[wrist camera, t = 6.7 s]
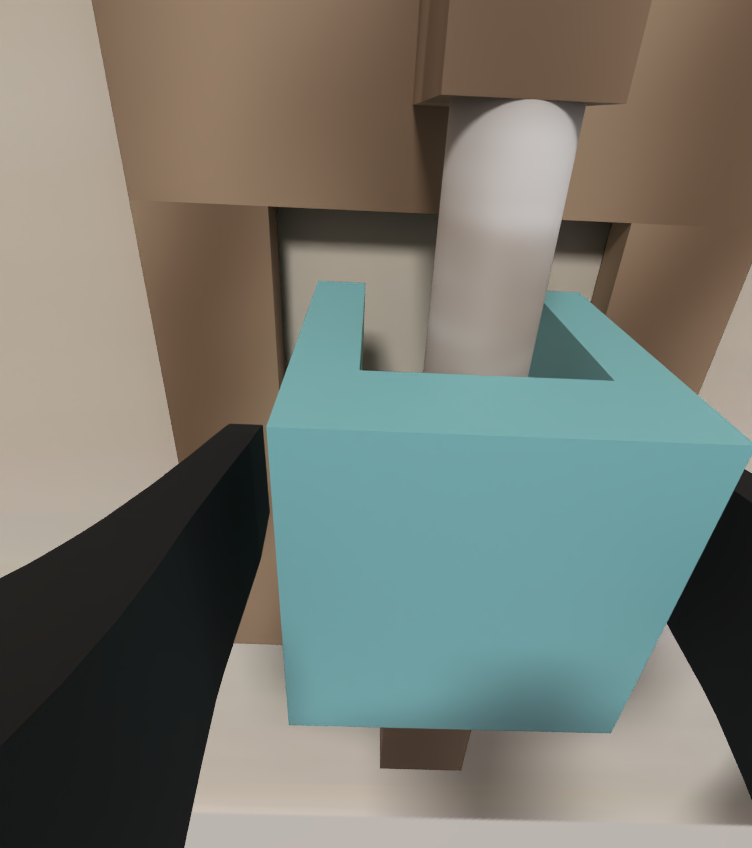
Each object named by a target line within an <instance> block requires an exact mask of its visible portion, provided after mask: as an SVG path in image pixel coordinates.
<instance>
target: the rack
mask: <svg viewBox="0 0 752 848" xmlns="http://www.w3.org/2000/svg"><path fill="white" fill-rule="evenodd" d="M92 5H93V10H94V15H95V21H96V26H97V31H98V37H99V42H100V47H101V53H102V58H103V63H104V69H105V74H106V79H107V85H108V90H109V95H110V100H111V106H112V111H113V116H114V122H115V127H116V132H117V138H118V143H119V148H120V154H121V159H122V164H123V169H124V175H125V180H126V185H127V191H128V196H129V201H130V207H131V212H132V217H133V223H134V228H135V233H136V239H137V244H138V249H139V254H140V260H141V265H142V270H143V276H144V281H145V286H146V292H147V297H148V302H149V308H150V313H151V318H152V323H153V329H154V334H155V339H156V345H157V350H158V355H159V361H160V366H161V371H162V377H163V382H164V387H165V392H166V398H167V403H168V408H169V414H170V419H171V424H172V430H173V435H174V440H175V446H176V451H177V456H178V462H179V463H180V462H182V461H183V460H184V459H185V458H187V457H188V456H189V455H191V454H192V453H193V452H194V451H195V450H197V449H198V448H199V447H200V446H202V445H203V444H204V443H205V442H206V441H208V440H209V439H210V438H211V437H213V436H214V435H215V434H216V433H218V432H219V431H220V430H221V429H223V428H224V427H225V426H227V425H228V424H254V425H263V433H264V445H265V457H266V469H267V482H268V494H269V506H270V514H269V520H268V525H267V531H266V536H265V541H264V546H263V551H262V556H261V561H260V564H259V567H258V570H257V573H256V576H255V579H254V583H253V586H252V589H251V592H250V595H249V598H248V601H247V604H246V607H245V610H244V613H243V616H242V619H241V622H240V625H239V628H238V631H237V634H236V637H235V640H234V643H243V644H275V645H283V641H282V628H281V614H280V601H279V588H278V575H277V562H276V548H275V535H274V522H273V509H272V496H271V482H270V469H269V456H268V443H267V430H266V426H267V423H268V421H269V418H270V415H271V412H272V409H273V407H274V404H275V401H276V398H277V395H278V393H279V390H280V387H281V384H282V381H283V379H284V376H285V363H284V344H283V325H282V306H281V287H280V268H279V250H278V231H277V212H276V207H294V208H316V209H337V210H359V211H380V212H402V213H423V214H439V219H438V229H437V239H436V249H435V259H434V269H433V279H432V290H431V300H430V310H429V320H428V330H427V340H426V350H425V361H424V371H423V373H436V374H461V375H479V376H510V377H528V374H529V370H530V365H531V360H532V356H533V351H534V346H535V342H536V337H537V332H538V328H539V323H540V318H541V314H542V309H543V304H544V300H545V295H546V290H547V286H548V281H549V276H550V272H551V267H552V262H553V258H554V253H555V248H556V244H557V239H558V234H559V230H560V225H561V220H575V221H596V222H612V225H611V229H610V232H609V236H608V240H607V244H606V248H605V252H604V255H603V259H602V263H601V267H600V271H599V274H598V278H597V282H596V286H595V290H594V293H593V297H592V301H591V303H592V304H593V305H594V306H595V307H596V308H597V309H599V310H600V311H601V312H602V313H603V314H604V315H606V316H607V317H608V318H609V319H610V320H611V321H613V322H614V323H615V324H616V325H617V326H618V327H619V328H621V329H622V330H623V331H624V332H625V333H626V334H628V335H629V336H630V337H631V338H632V339H633V340H635V341H636V342H637V343H638V344H639V345H640V346H641V347H643V348H644V349H645V350H646V351H647V352H648V353H650V354H651V355H652V356H653V357H654V358H655V359H657V360H658V361H659V362H660V363H661V364H662V365H663V366H665V367H666V368H667V369H668V370H669V371H670V372H672V373H673V374H674V375H675V376H676V377H677V378H679V379H680V380H681V381H682V382H683V383H684V384H685V385H687V386H688V387H689V388H690V389H691V390H692V391H694V392H695V393H696V394H697V395H698V394H699V391H700V389H701V386H702V384H703V382H704V379H705V377H706V374H707V372H708V369H709V367H710V364H711V362H712V360H713V357H714V355H715V352H716V350H717V347H718V345H719V343H720V340H721V338H722V335H723V333H724V330H725V328H726V325H727V323H728V321H729V318H730V316H731V313H732V311H733V308H734V306H735V303H736V301H737V299H738V296H739V294H740V291H741V289H742V286H743V284H744V282H745V279H746V277H747V274H748V272H749V269H750V267H751V264H752V0H92ZM470 732H471V730H463V729H424V728H385V727H380V768H388V769H424V770H460V771H461V768H462V764H463V760H464V756H465V752H466V748H467V744H468V740H469V736H470Z"/></svg>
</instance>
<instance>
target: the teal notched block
mask: <svg viewBox="0 0 752 848" xmlns="http://www.w3.org/2000/svg"><path fill="white" fill-rule="evenodd" d="M364 308H365V283H352V282H330V281H318V283H317V286H316V289H315V292H314V295H313V297H312V300H311V303H310V306H309V309H308V311H307V314H306V317H305V320H304V323H303V325H302V328H301V331H300V334H299V337H298V339H297V342H296V345H295V348H294V351H293V353H292V356H291V359H290V362H289V365H288V367H287V370H286V373H285V376H284V379H283V381H282V384H281V387H280V390H279V393H278V395H277V398H276V401H275V404H274V407H273V409H272V412H271V415H270V418H269V421H268V423H267V426H266V430H267V443H268V456H269V469H270V482H271V496H272V509H273V522H274V535H275V548H276V562H277V575H278V588H279V601H280V614H281V628H282V641H283V654H284V667H285V681H286V694H287V707H288V720H289V725H308V726H346V727H385V728H424V729H463V730H502V731H540V732H579V733H611V732H612V730H613V728H614V726H615V724H616V722H617V720H618V718H619V716H620V714H621V712H622V710H623V708H624V706H625V704H626V702H627V700H628V698H629V696H630V694H631V692H632V690H633V688H634V686H635V684H636V682H637V680H638V678H639V676H640V674H641V672H642V671H643V669H644V667H645V665H646V663H647V661H648V659H649V657H650V655H651V653H652V651H653V649H654V647H655V645H656V643H657V641H658V639H659V637H660V635H661V633H662V631H663V629H664V627H665V625H666V623H667V621H668V619H669V617H670V615H671V613H672V611H673V609H674V607H675V605H676V603H677V601H678V599H679V597H680V596H681V594H682V592H683V590H684V588H685V586H686V584H687V582H688V580H689V578H690V576H691V574H692V572H693V570H694V568H695V566H696V564H697V562H698V560H699V558H700V556H701V554H702V552H703V550H704V548H705V546H706V544H707V542H708V540H709V538H710V536H711V534H712V532H713V530H714V528H715V526H716V524H717V522H718V520H719V519H720V517H721V515H722V513H723V511H724V509H725V507H726V505H727V503H728V501H729V499H730V497H731V495H732V493H733V491H734V489H735V487H736V485H737V483H738V481H739V479H740V477H741V475H742V473H743V471H744V469H745V467H746V465H747V463H748V461H749V459H750V457H751V455H752V442H751V441H750V440H749V439H748V438H747V437H746V436H745V435H743V434H742V433H741V432H740V431H739V430H738V429H736V428H735V427H734V426H733V425H732V424H731V423H729V422H728V421H727V420H726V419H725V418H724V417H723V416H721V415H720V414H719V413H718V412H717V411H716V410H714V409H713V408H712V407H711V406H710V405H709V404H707V403H706V402H705V401H704V400H703V399H702V398H701V397H699V396H698V395H697V394H696V393H695V392H694V391H692V390H691V389H690V388H689V387H688V386H687V385H685V384H684V383H683V382H682V381H681V380H680V379H679V378H677V377H676V376H675V375H674V374H673V373H672V372H670V371H669V370H668V369H667V368H666V367H665V366H663V365H662V364H661V363H660V362H659V361H658V360H657V359H655V358H654V357H653V356H652V355H651V354H650V353H648V352H647V351H646V350H645V349H644V348H643V347H641V346H640V345H639V344H638V343H637V342H636V341H635V340H633V339H632V338H631V337H630V336H629V335H628V334H626V333H625V332H624V331H623V330H622V329H621V328H619V327H618V326H617V325H616V324H615V323H614V322H613V321H611V320H610V319H609V318H608V317H607V316H606V315H604V314H603V313H602V312H601V311H600V310H599V309H597V308H596V307H595V306H594V305H593V304H592V303H591V302H589V301H588V300H587V299H586V298H585V297H584V296H582V295H581V294H580V293H575V292H553V291H546V295H545V300H544V304H543V309H542V314H541V318H540V323H539V328H538V332H537V337H536V342H535V346H534V351H533V356H532V360H531V365H530V370H529V374H528V377H510V376H479V375H461V374H436V373H412V372H388V371H363V370H362V366H363V337H364Z"/></svg>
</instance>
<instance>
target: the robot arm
mask: <svg viewBox="0 0 752 848" xmlns="http://www.w3.org/2000/svg"><path fill="white" fill-rule="evenodd" d="M269 514H270V506H269V494H268V482H267V469H266V457H265V445H264V433H263V425H254V424H228V425H227V426H225V427H224V428H223V429H221V430H220V431H219V432H218V433H216V434H215V435H214V436H213V437H211V438H210V439H209V440H208V441H206V442H205V443H204V444H203V445H202V446H200V447H199V448H198V449H197V450H195V451H194V452H193V453H192V454H191V455H189V456H188V457H187V458H185V459H184V460H183V461H182V462H180V463H179V464H178V465H177V466H175V467H174V468H173V469H171V470H170V471H169V472H168V473H166V474H165V475H164V476H162V477H161V478H160V479H159V480H157V481H156V482H155V483H153V484H152V485H150V486H149V487H148V488H146V489H145V490H143V491H142V492H141V493H139V494H138V495H136V496H135V497H134V498H132V499H131V500H129V501H128V502H126V503H125V504H124V505H122V506H121V507H119V508H118V509H117V510H115V511H114V512H112V513H111V514H109V515H108V516H107V517H105V518H104V519H102V520H101V521H99V522H97V523H96V524H94V525H93V526H91V527H90V528H88V529H87V530H85V531H83V532H82V533H80V534H79V535H77V536H75V537H74V538H72V539H70V540H69V541H67V542H65V543H63V544H62V545H60V546H58V547H57V548H55V549H53V550H52V551H50V552H48V553H46V554H45V555H43V556H41V557H40V558H38V559H36V560H34V561H32V562H31V563H29V564H27V565H25V566H23V567H21V568H19V569H17V570H16V571H14V572H12V573H10V574H8V575H6V576H4V577H2V578H0V848H184V846H185V841H186V836H187V831H188V826H189V821H190V817H191V812H192V807H193V803H194V798H195V793H196V789H197V784H198V779H199V774H200V770H201V765H202V760H203V756H204V751H205V747H206V743H207V738H208V734H209V729H210V725H211V721H212V716H213V712H214V707H215V703H216V699H217V695H218V692H219V688H220V685H221V681H222V678H223V674H224V671H225V668H226V665H227V662H228V659H229V656H230V653H231V650H232V647H233V643H234V640H235V637H236V634H237V631H238V628H239V625H240V622H241V619H242V616H243V613H244V610H245V607H246V604H247V601H248V598H249V595H250V592H251V589H252V586H253V583H254V579H255V576H256V573H257V570H258V567H259V564H260V561H261V556H262V551H263V546H264V541H265V536H266V531H267V525H268V520H269ZM667 625H668V626H669V628H670V630H671V632H672V634H673V636H674V637H675V639H676V641H677V643H678V645H679V646H680V648H681V650H682V652H683V654H684V655H685V657H686V659H687V661H688V663H689V664H690V666H691V668H692V670H693V672H694V674H695V675H696V677H697V679H698V681H699V683H700V684H701V686H702V688H703V690H704V692H705V694H706V696H707V698H708V700H709V702H710V704H711V706H712V708H713V710H714V712H715V714H716V716H717V718H718V721H719V723H720V725H721V728H722V730H723V732H724V735H725V737H726V739H727V742H728V744H729V746H730V749H731V751H732V753H733V756H734V758H735V760H736V762H737V765H738V767H739V769H740V772H741V774H742V776H743V779H744V781H745V784H746V786H747V789H748V792H749V794H750V797H751V799H752V473H750V472H748V471H747V470H745V469H744V471H743V473H742V475H741V477H740V479H739V481H738V483H737V485H736V487H735V489H734V491H733V493H732V495H731V497H730V499H729V501H728V503H727V505H726V507H725V509H724V511H723V513H722V515H721V517H720V519H719V520H718V522H717V524H716V526H715V528H714V530H713V532H712V534H711V536H710V538H709V540H708V542H707V544H706V546H705V548H704V550H703V552H702V554H701V556H700V558H699V560H698V562H697V564H696V566H695V568H694V570H693V572H692V574H691V576H690V578H689V580H688V582H687V584H686V586H685V588H684V590H683V592H682V594H681V596H680V597H679V599H678V601H677V603H676V605H675V607H674V609H673V611H672V613H671V615H670V617H669V619H668V621H667Z"/></svg>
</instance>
